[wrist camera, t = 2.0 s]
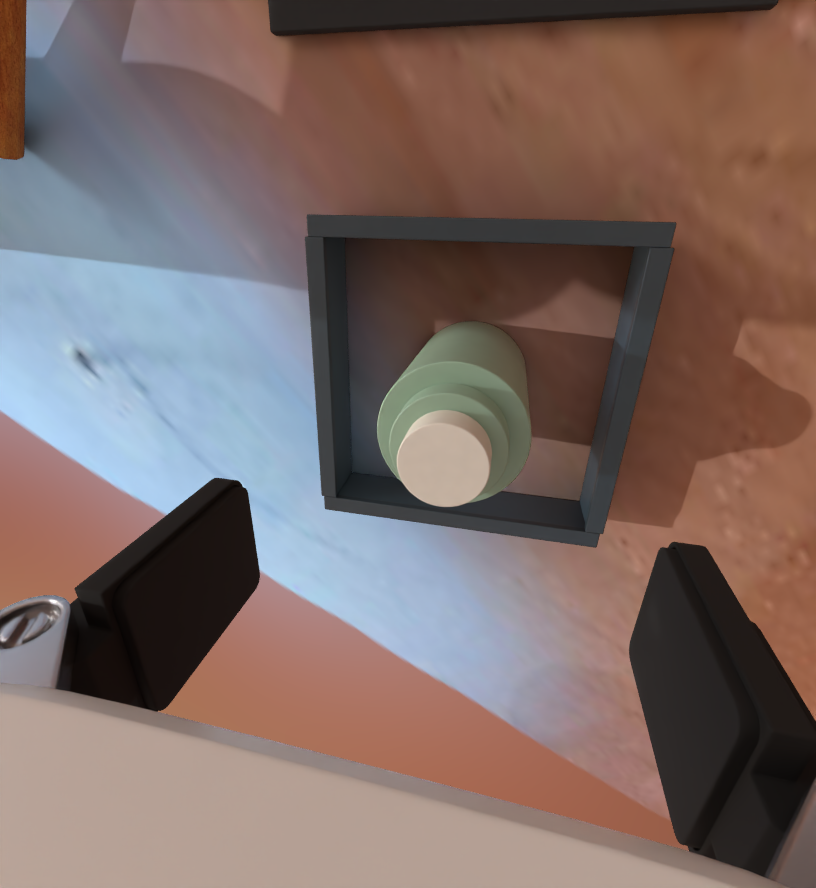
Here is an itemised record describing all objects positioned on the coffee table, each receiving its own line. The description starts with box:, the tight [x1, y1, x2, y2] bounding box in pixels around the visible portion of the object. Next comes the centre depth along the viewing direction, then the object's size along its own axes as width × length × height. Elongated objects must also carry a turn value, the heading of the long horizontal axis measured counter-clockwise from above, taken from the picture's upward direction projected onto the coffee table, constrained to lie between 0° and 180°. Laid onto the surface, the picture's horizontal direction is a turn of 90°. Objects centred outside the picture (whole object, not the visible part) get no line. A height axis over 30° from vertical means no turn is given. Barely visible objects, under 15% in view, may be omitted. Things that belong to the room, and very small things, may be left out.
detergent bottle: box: [377, 321, 532, 507], centre depth 20 cm, size 6×6×11 cm
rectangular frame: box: [305, 214, 676, 548], centre depth 24 cm, size 16×16×3 cm
